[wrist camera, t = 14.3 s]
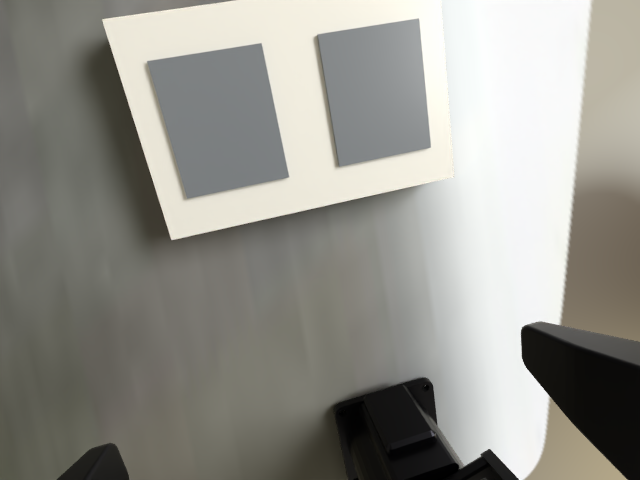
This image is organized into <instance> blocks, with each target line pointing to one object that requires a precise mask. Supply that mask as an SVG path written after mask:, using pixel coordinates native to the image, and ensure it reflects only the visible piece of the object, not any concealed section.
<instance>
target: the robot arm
mask: <svg viewBox="0 0 640 480" xmlns="http://www.w3.org/2000/svg"><path fill="white" fill-rule="evenodd" d="M521 346H522V359H523V362H524V364H525V366H526V368H527V369H528V370H529V372H530V373H531V374H532V375H533V376H534V378H535V379H536V380H537V381H538V382H539V384H540V385H541V386H542V387H543V388H544V390H545V391H546V392H547V393H548V394H549V396H550V397H551V398H552V399H553V400H554V402H555V403H556V404H557V405H558V406H559V408H560V409H561V410H562V411H563V413H564V414H565V415H566V416H567V417H568V418H569V420H570V421H571V422H572V423H573V424H574V425H575V426H576V427H577V428H578V429H579V431H580V432H581V433H582V434H583V435H584V436H585V437H586V438H587V439H588V440H589V441H590V442H591V443H592V444H593V445H594V446H595V447H596V448H597V449H598V450H599V451H600V452H601V453H602V454H603V455H604V456H605V457H606V458H607V459H608V460H609V461H610V462H611V463H612V464H613V465H614V466H615V467H616V468H617V469H618V470H619V471H620V472H621V473H622V474H623V475H624V476H625V478H626V479H628V480H640V342H638V341H633V340H628V339H623V338H618V337H614V336H609V335H604V334H599V333H594V332H589V331H585V330H579V329H574V328H570V327H565V326H560V325H555V324H551V323H546V322H535V323H531V324H528V325H525V326H524V327H522V330H521ZM424 385H426V386H425V387H424V388H422V387H423V386H424ZM342 410H345V411H344V412H342V413H340V411H342ZM334 415H335V420H336V425H337V430H338V434H339V439H340V444H341V449H342V453H343V458H344V463H345V468H346V473H347V477H348V480H519V479H518V478H517V477H516V476H515V475H514V474H513V473H512V472H511V471H510V470H509V469H508V468H507V467H506V466H505V464H504V463H503V462H502V461H501V460H500V459H499V458H498V457H497V456H496V455H495V454H494V453H493V452H492V451H491V450H490V449H488V450H487V451H485V452H483V453H482V454H481V457H479V458H478V459H476V460H474V461H473V462H471V463H469V464H468V465H466V466H464V464H463V463H462V462H461V460H460V459H459V457H458V456H457V454H456V453H455V451H454V450H453V448H452V447H451V445H450V444H449V442H448V441H447V439H446V438H445V436H444V435H443V433H442V432H441V431H440V429H439V428H438V426H437V417H436V408H435V399H434V390H433V385H432V383H431V382H430V380H429V379H428V378H420V379H417V380H414V381H410V382H407V383H404V384H400V385H397V386H394V387H390V388H387V389H384V390H380V391H377V392H374V393H370V394H367V395H364V396H361V397H357V398H354V399H351V400H347V401H344V402H341V403H338V404H337V405H336V406H335V407H334ZM355 478H356V479H355ZM57 480H129V475H128V472H127V469H126V467H125V465H124V462H123V460H122V457H121V455H120V453H119V450H118V448H117V446H116V445H115V444H113V443H108V444H105V445H101V446H98V447H94V448H92V449H90V450H89V451H87V452H86V453H85V454H84V455H83V456H82V457H81V458H80V459H79V460H78V461H77V462H75V463H74V464H73V465H72V466H71V467H70V468H69V469H68V470H67V471H66V472H65V473H63V474H62V475H61V476H60V477H59V478H58V479H57Z"/></svg>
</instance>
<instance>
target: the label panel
mask: <svg viewBox="0 0 640 480" xmlns="http://www.w3.org/2000/svg"><path fill="white" fill-rule="evenodd" d="M102 21H103V24H104V27H105V30H106V34H107V37H108V40H109V43H110V46H111V49H112V53H113V56H114V59H115V62H116V65H117V69H118V72H119V75H120V78H121V81H122V84H123V88H124V91H125V94H126V97H127V100H128V103H129V107H130V110H131V113H132V116H133V119H134V123H135V126H136V129H137V132H138V135H139V138H140V142H141V145H142V148H143V151H144V154H145V157H146V161H147V164H148V167H149V170H150V173H151V176H152V180H153V183H154V186H155V189H156V192H157V196H158V199H159V202H160V205H161V208H162V211H163V215H164V218H165V221H166V224H167V227H168V230H169V234H170V237H171V240H175V239H179V238H184V237H188V236H193V235H197V234H201V233H206V232H210V231H215V230H219V229H224V228H228V227H233V226H237V225H242V224H246V223H251V222H255V221H260V220H264V219H269V218H273V217H278V216H282V215H286V214H291V213H295V212H300V211H304V210H309V209H313V208H318V207H322V206H327V205H331V204H336V203H340V202H345V201H349V200H354V199H358V198H363V197H367V196H371V195H376V194H380V193H385V192H389V191H394V190H398V189H403V188H407V187H412V186H416V185H421V184H425V183H430V182H434V181H439V180H443V179H448V178H452V177H454V167H453V153H452V140H451V127H450V114H449V101H448V88H447V75H446V61H445V48H444V35H443V22H442V9H441V0H236V1H229V2H222V3H215V4H208V5H201V6H194V7H186V8H179V9H172V10H165V11H158V12H151V13H144V14H137V15H129V16H122V17H115V18H108V19H102Z"/></svg>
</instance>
